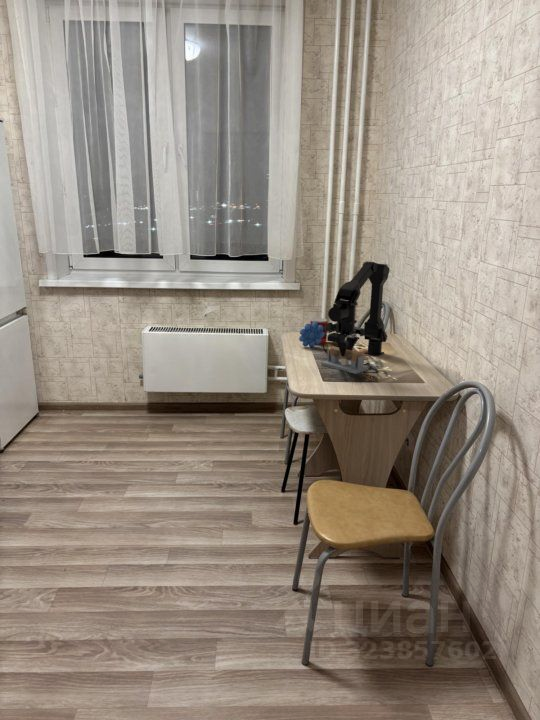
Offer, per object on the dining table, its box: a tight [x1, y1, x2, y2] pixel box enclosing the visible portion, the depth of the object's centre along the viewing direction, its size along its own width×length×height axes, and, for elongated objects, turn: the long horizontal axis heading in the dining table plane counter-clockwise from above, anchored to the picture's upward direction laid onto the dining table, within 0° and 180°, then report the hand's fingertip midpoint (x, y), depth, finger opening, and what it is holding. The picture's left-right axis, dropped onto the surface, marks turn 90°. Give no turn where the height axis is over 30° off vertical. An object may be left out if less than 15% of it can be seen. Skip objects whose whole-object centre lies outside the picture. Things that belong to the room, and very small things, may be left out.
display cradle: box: [321, 348, 370, 375], centre depth 217 cm, size 9×17×6 cm, turn 48°
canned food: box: [309, 317, 328, 345], centre depth 254 cm, size 8×8×11 cm
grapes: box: [298, 322, 325, 348], centre depth 246 cm, size 12×7×12 cm, turn 83°
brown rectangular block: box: [329, 346, 362, 362], centre depth 216 cm, size 13×4×3 cm, turn 48°
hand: (345, 355), depth 217 cm, fingers closed on brown rectangular block, 3 cm apart
